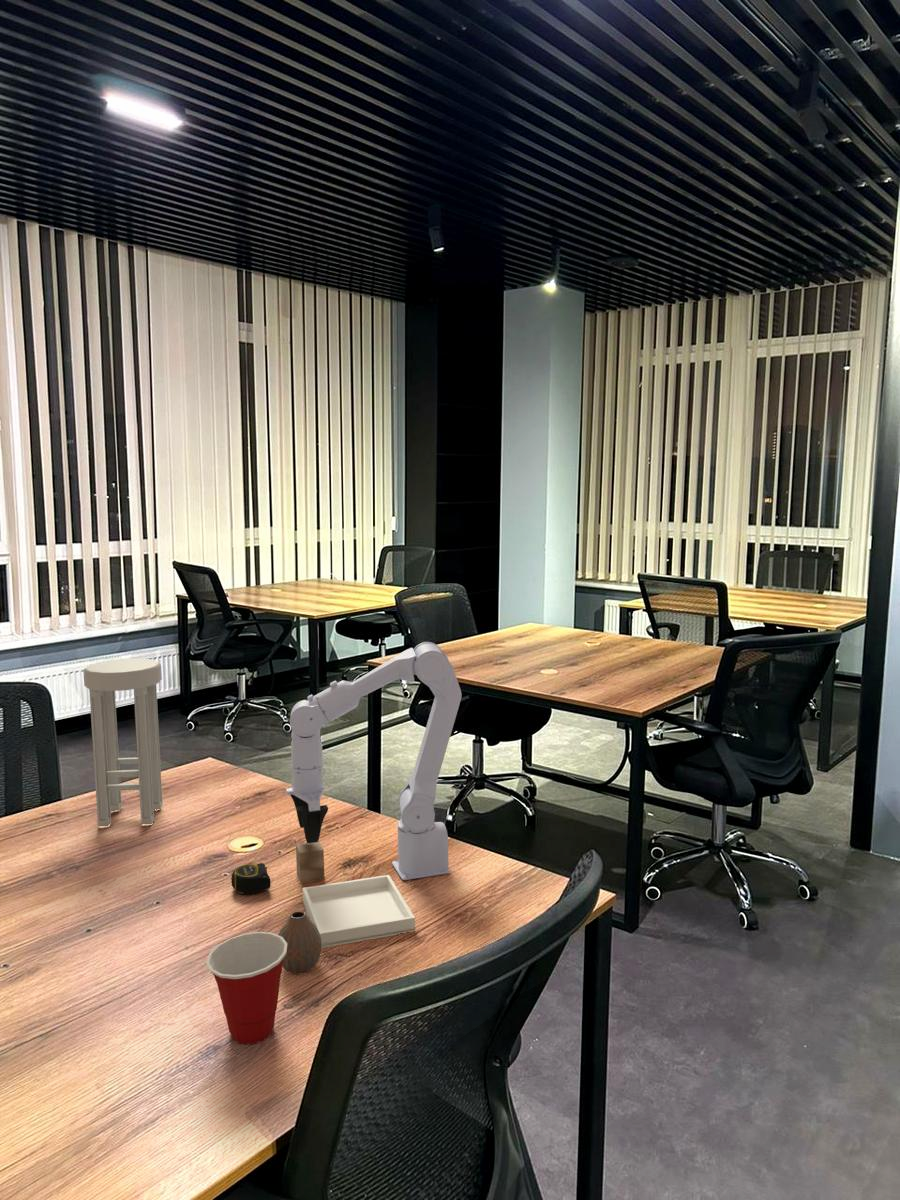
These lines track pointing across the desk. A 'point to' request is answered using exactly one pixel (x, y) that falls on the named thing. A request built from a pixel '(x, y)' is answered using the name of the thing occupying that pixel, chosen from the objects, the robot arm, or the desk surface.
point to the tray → (357, 910)
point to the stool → (105, 739)
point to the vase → (300, 943)
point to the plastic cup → (249, 982)
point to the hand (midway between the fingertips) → (309, 834)
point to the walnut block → (310, 862)
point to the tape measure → (250, 878)
